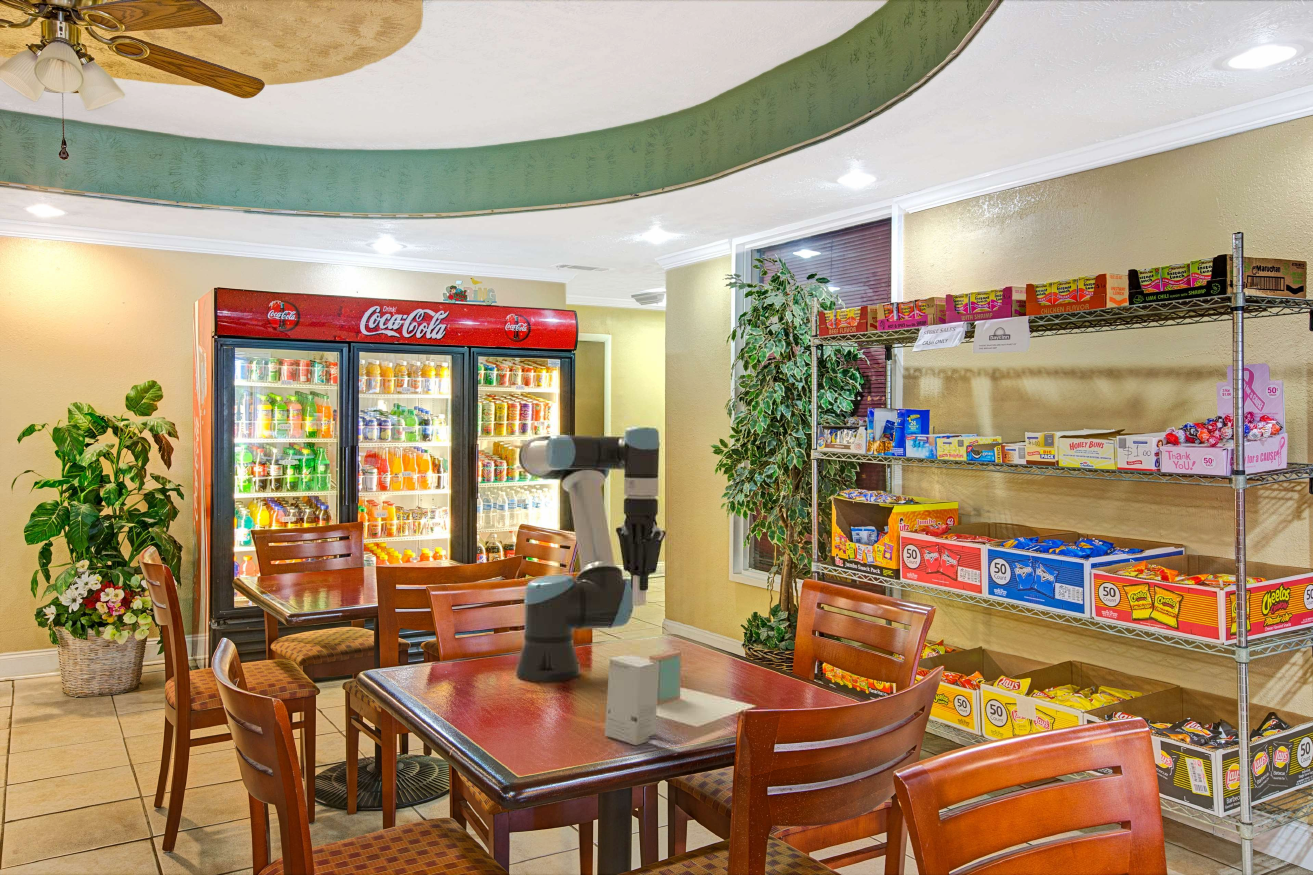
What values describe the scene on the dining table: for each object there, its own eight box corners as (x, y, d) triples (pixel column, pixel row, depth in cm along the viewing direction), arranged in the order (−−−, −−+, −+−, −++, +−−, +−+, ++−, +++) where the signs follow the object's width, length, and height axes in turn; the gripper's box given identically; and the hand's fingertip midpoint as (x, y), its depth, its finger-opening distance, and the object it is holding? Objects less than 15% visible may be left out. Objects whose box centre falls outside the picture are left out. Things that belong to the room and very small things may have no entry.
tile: (648, 703, 188) (649, 656, 188) (673, 696, 194) (674, 650, 194) (656, 705, 186) (657, 657, 187) (681, 698, 192) (682, 651, 193)
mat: (608, 706, 189) (608, 701, 189) (669, 688, 204) (669, 684, 204) (697, 731, 173) (697, 726, 173) (756, 710, 188) (756, 705, 188)
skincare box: (604, 736, 169) (605, 657, 169) (625, 729, 174) (627, 652, 174) (637, 746, 164) (639, 665, 164) (658, 738, 168) (660, 659, 168)
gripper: (607, 496, 198) (605, 603, 197) (651, 499, 189) (649, 610, 188) (630, 495, 203) (628, 599, 203) (674, 498, 195) (672, 606, 194)
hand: (639, 604), depth 196 cm, fingers closed
